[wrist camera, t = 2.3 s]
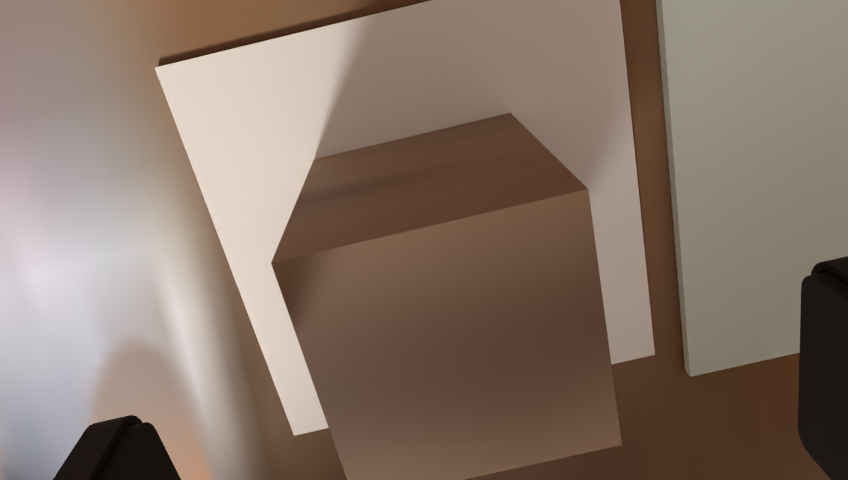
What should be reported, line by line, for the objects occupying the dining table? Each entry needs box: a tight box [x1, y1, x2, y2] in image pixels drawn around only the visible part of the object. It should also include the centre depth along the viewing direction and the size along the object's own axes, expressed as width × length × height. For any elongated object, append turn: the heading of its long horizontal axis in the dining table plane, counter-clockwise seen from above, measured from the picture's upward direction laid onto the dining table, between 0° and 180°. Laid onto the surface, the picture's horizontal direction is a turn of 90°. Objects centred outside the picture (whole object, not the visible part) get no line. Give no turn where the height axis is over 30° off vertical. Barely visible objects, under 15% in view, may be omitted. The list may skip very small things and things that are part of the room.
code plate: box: [155, 0, 655, 436], centre depth 18 cm, size 12×12×1 cm
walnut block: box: [271, 113, 622, 480], centre depth 15 cm, size 6×6×7 cm
